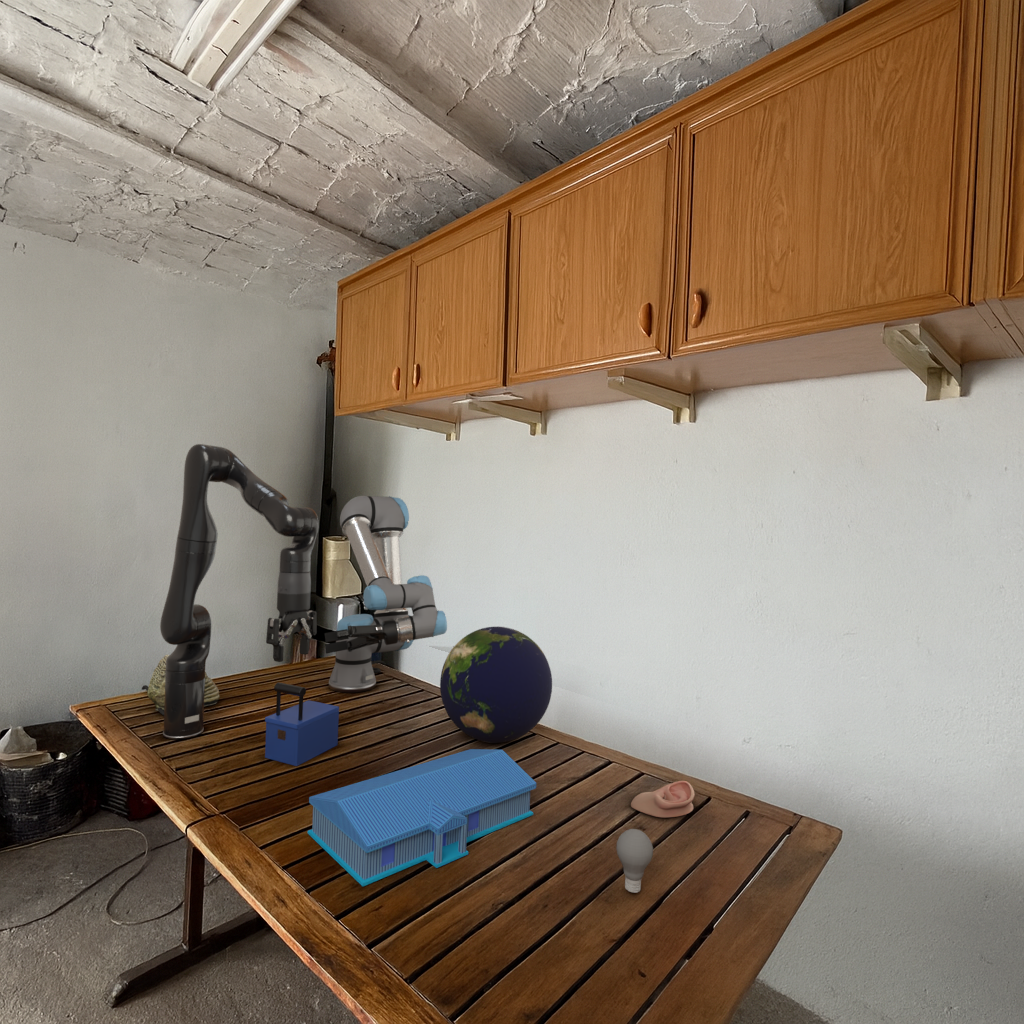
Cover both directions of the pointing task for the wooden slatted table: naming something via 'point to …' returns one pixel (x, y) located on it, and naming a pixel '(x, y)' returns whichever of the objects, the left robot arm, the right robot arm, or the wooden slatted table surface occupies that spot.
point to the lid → (298, 708)
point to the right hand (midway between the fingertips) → (325, 643)
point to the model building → (420, 812)
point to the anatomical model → (666, 800)
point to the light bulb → (634, 857)
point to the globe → (496, 684)
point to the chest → (301, 740)
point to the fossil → (158, 687)
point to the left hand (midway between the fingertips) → (291, 657)
